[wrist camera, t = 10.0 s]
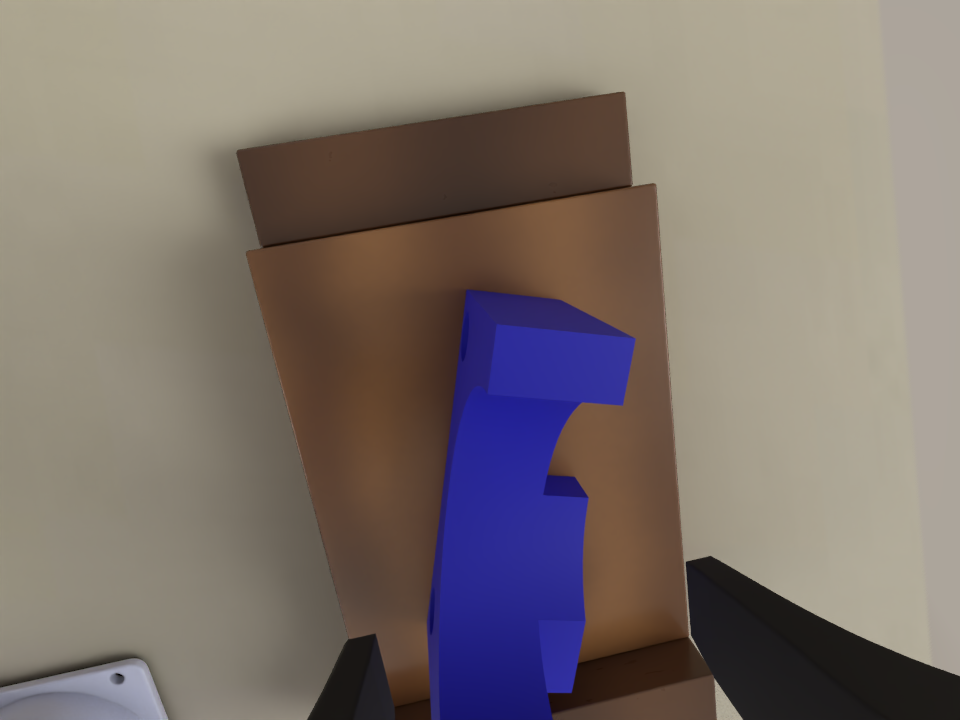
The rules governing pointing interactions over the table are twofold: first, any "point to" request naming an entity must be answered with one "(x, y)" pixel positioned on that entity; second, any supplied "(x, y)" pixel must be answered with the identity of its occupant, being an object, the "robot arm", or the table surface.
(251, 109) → the table surface
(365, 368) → the step shelf
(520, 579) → the blue curved notched block
